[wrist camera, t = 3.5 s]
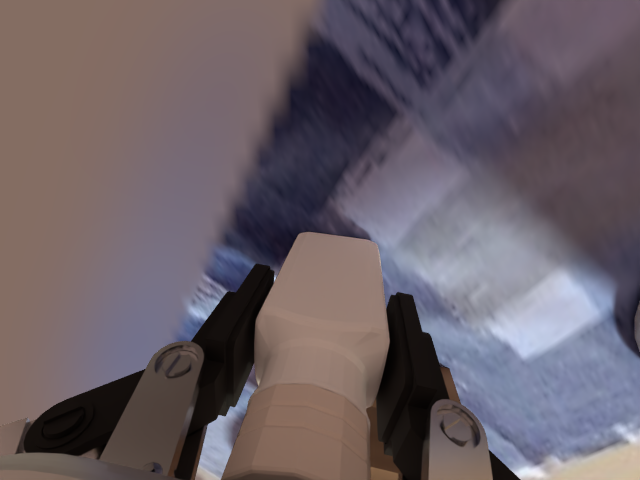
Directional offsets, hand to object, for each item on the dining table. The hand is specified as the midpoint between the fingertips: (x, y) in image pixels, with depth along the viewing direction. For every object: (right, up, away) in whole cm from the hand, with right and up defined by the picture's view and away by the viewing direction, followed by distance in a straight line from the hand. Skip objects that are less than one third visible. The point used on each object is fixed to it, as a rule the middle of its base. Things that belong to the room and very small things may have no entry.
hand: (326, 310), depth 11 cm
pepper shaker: (+1, +2, +3) cm, 4 cm away
